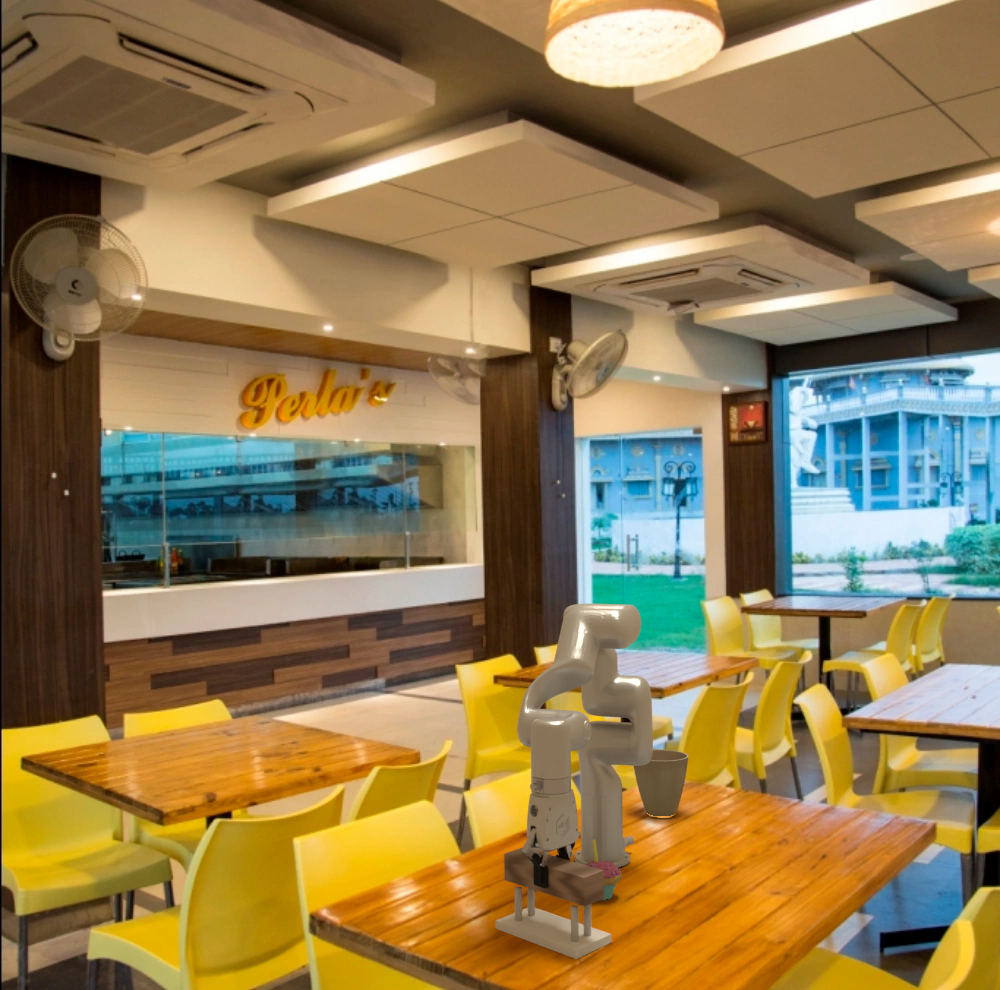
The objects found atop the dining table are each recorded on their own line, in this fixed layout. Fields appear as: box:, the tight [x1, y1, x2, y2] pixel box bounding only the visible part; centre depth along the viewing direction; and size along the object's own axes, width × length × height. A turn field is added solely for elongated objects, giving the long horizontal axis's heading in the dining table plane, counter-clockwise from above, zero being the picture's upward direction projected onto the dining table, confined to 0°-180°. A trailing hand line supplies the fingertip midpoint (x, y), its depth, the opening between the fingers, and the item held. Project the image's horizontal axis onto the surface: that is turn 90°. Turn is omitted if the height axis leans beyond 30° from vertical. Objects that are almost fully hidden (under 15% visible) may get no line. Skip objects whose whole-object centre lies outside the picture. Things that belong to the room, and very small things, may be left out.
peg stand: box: [495, 886, 612, 960], centre depth 186 cm, size 20×10×8 cm, turn 46°
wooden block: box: [503, 847, 604, 907], centre depth 187 cm, size 20×6×5 cm, turn 45°
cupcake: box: [585, 836, 623, 901], centre depth 206 cm, size 9×8×12 cm
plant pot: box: [633, 749, 689, 816], centre depth 266 cm, size 15×15×16 cm
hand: (552, 881), depth 187 cm, fingers closed on wooden block, 5 cm apart
